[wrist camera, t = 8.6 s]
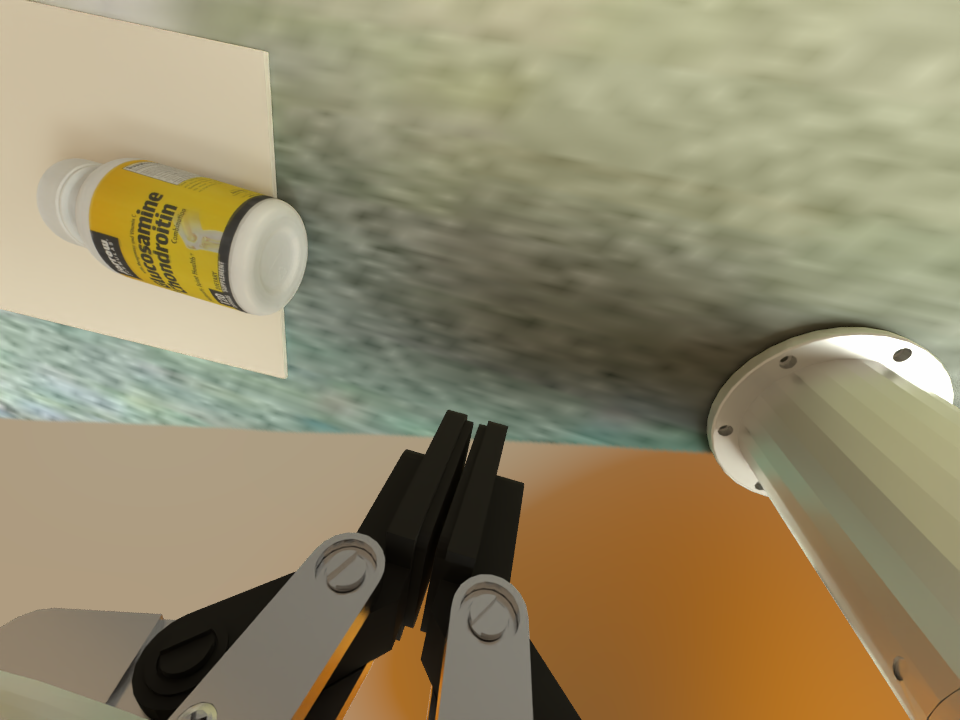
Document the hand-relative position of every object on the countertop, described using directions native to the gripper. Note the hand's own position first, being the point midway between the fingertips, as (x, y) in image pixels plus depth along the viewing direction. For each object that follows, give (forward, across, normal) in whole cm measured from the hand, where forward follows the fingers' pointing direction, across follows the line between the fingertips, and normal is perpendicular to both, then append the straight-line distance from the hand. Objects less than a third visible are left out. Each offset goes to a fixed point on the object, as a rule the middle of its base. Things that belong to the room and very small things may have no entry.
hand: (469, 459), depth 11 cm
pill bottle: (+11, +13, 0) cm, 17 cm away
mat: (+14, +28, 0) cm, 31 cm away
